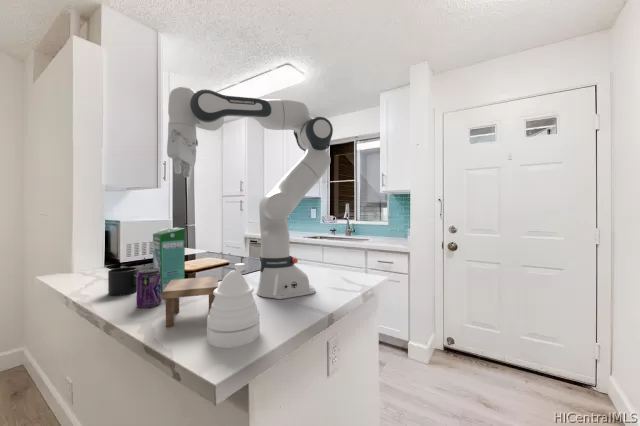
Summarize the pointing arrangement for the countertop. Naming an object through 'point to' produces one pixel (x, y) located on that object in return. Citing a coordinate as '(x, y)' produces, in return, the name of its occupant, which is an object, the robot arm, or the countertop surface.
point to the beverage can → (148, 287)
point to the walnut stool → (187, 293)
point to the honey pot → (233, 312)
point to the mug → (122, 281)
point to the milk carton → (169, 254)
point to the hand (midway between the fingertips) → (182, 175)
